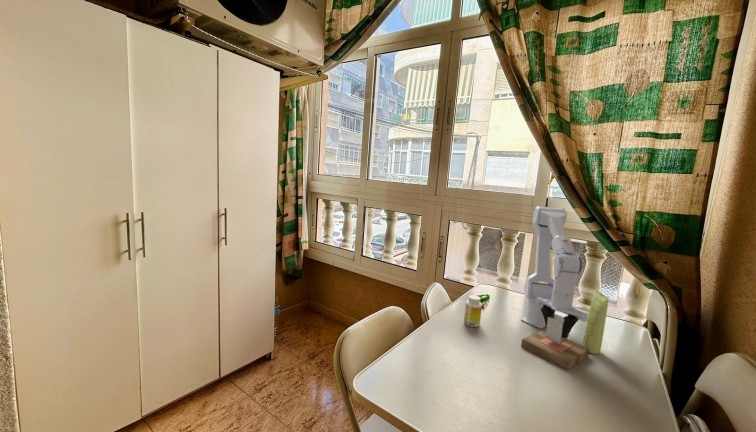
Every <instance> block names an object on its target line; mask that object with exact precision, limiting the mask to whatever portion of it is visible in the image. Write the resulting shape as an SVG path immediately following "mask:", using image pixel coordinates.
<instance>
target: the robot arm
mask: <svg viewBox="0 0 756 432" xmlns="http://www.w3.org/2000/svg"><path fill="white" fill-rule="evenodd" d="M567 215H568V214H567V211H566V209H565V208H563V207H562V208H561V207H560V208H559V207H557V208H556V207H550V206H549V207H547V206H540V205H538V206H535V208H534V211H533V213H532V228H533V229H534V230H536V245H535V247H536V249H535V263H534V273H532V274H530V275H529V276H527V277H526V278H525V284H524V290H523V291H524V296H525V297H526V298H527V304H526V310H525V311H526V312H525V316H524V317H521V318H520V321H521V322H525V323H527V324H529V325H531V326H534V327H536V328H538V329H541V330H542V329H544V328H545V329H546V328H547V321H548V317H549V316H551V315H554V314H556V312H560V313H561V314H565V315H566V316H563V317H564V331H563V338H567V339H568V337H569V336H570V333H571V331H572V329H573V327H574V326H575V325H576V323H577V322H578V321H579V320H580V321H581V322H584V323H585V322H587V320H588V315H589V313H586V312H584V311H581V310H579V309H577V308H575V307H573V302H574V295H575V289H576V283H577V277H578V275H579V274H581V272H582V270H583V265H584V264H583V258H582V256H581V255H580V254H579V253H577V252H576V251H575V249H574V246H573V243H572V241H571V238H570V237H569V236H566V230H565V227H564V226H565V223H566V221H567ZM551 248H552V251H553V255H554V258H553V272H552V274H553V276H554V278H553V277H551V276H550V263H551V261H550V259H551Z"/></svg>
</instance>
